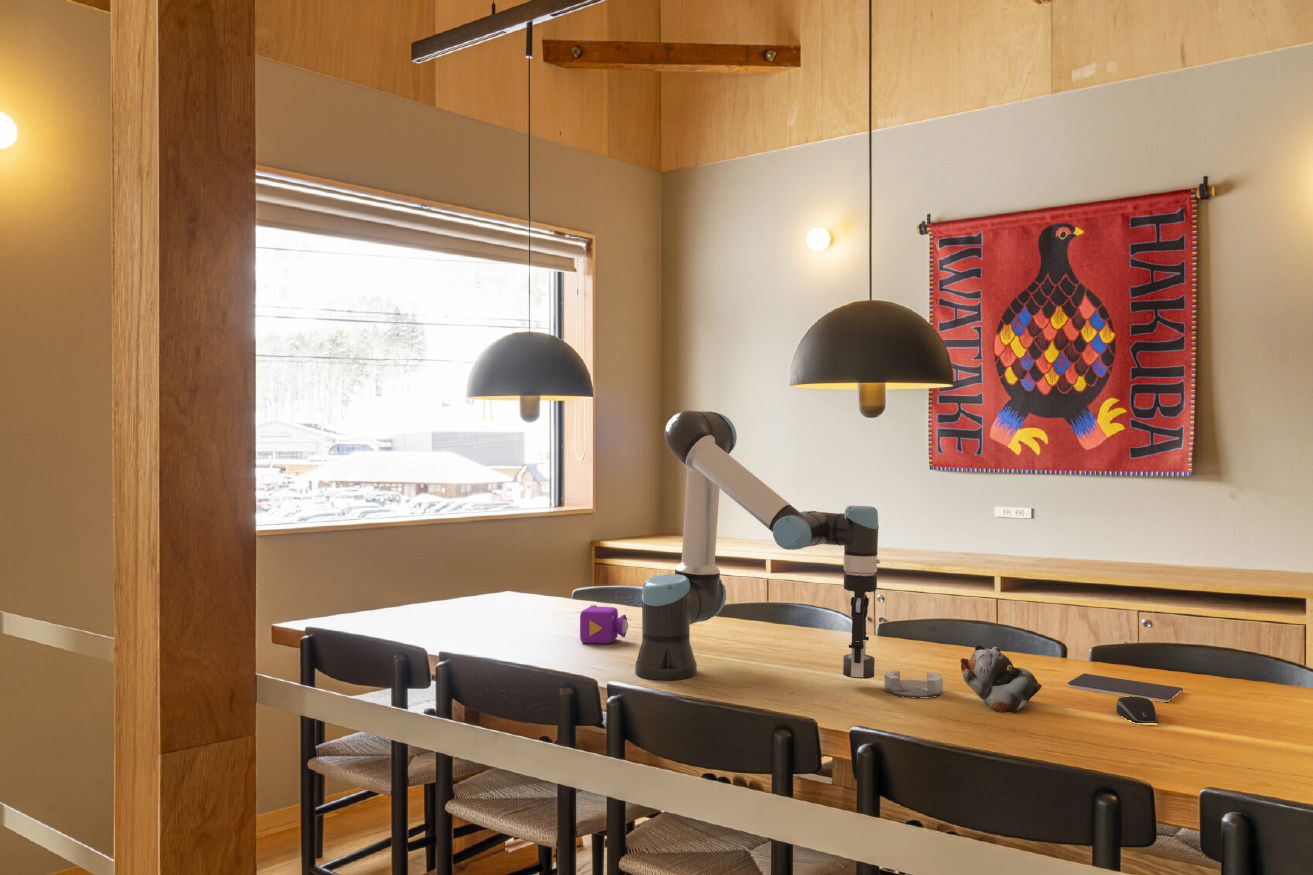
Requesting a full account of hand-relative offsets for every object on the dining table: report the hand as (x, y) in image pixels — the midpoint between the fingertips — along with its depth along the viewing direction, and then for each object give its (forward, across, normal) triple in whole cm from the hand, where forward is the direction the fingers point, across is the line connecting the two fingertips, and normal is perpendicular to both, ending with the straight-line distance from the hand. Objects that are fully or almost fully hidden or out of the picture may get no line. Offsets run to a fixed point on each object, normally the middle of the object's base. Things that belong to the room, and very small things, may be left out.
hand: (858, 672), depth 218 cm
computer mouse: (+2, -10, -57) cm, 58 cm away
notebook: (+3, +14, -59) cm, 60 cm away
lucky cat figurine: (+3, -7, -30) cm, 31 cm away
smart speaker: (+1, 0, 0) cm, 1 cm away
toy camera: (+6, +34, +73) cm, 81 cm away
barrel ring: (+3, 0, -12) cm, 13 cm away
